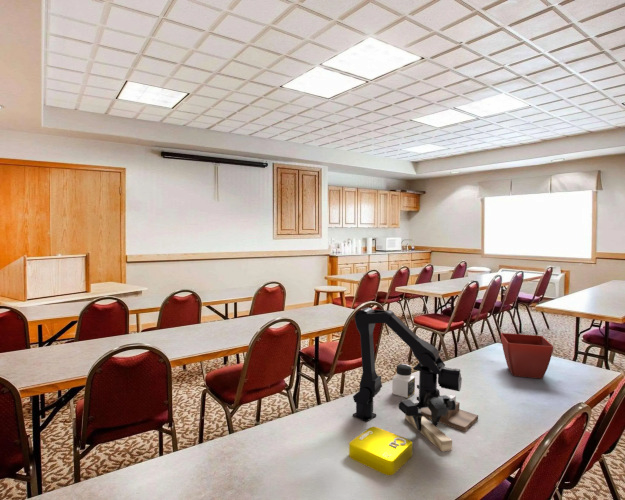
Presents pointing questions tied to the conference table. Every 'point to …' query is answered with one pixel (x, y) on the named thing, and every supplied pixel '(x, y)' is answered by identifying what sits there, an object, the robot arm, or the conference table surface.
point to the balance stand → (454, 417)
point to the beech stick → (432, 434)
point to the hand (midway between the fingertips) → (426, 429)
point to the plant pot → (526, 354)
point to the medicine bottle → (403, 381)
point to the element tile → (381, 450)
